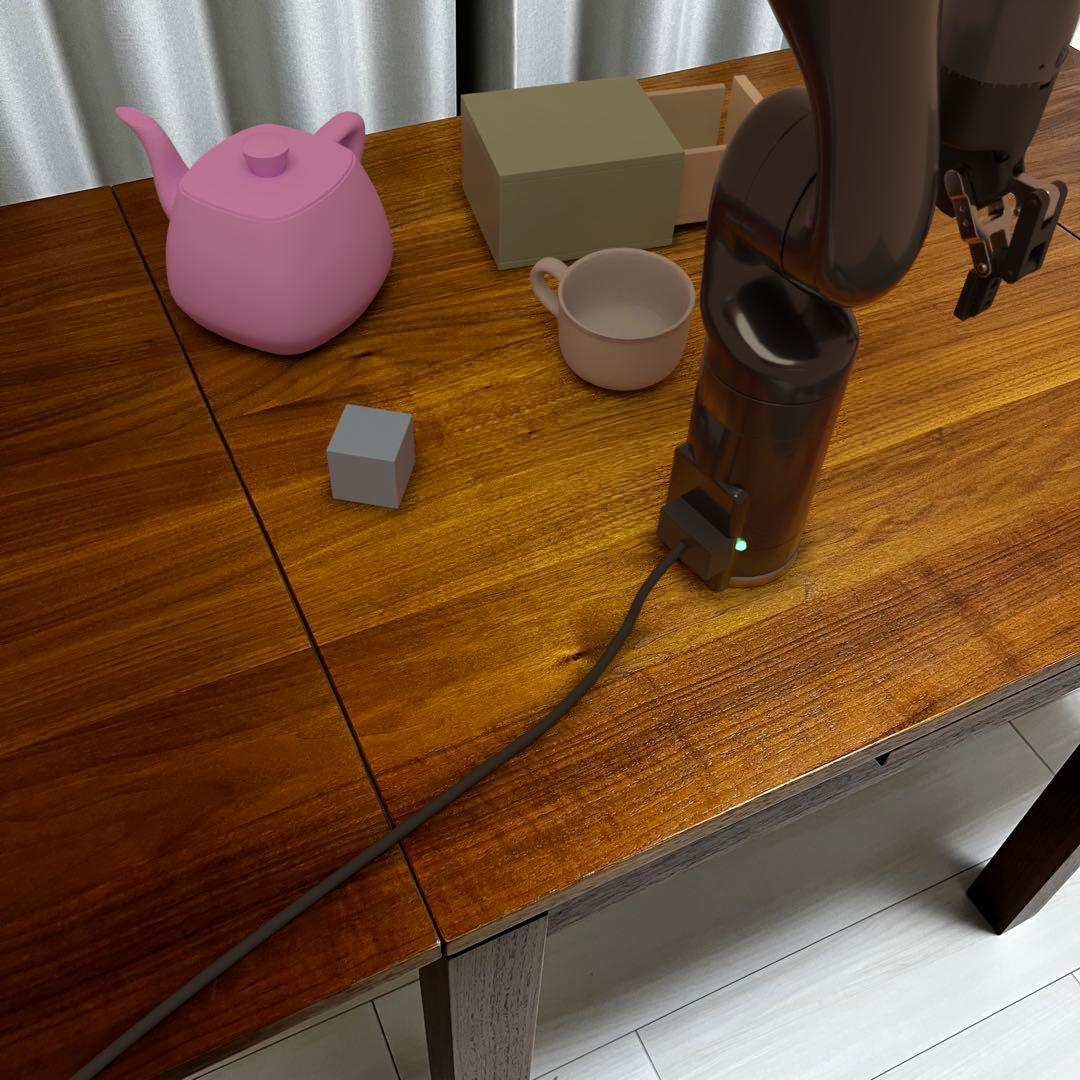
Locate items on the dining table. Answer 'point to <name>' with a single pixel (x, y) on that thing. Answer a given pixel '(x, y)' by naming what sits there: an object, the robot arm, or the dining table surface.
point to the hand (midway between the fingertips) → (916, 281)
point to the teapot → (271, 231)
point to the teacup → (619, 315)
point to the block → (371, 456)
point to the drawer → (702, 136)
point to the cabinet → (569, 170)
